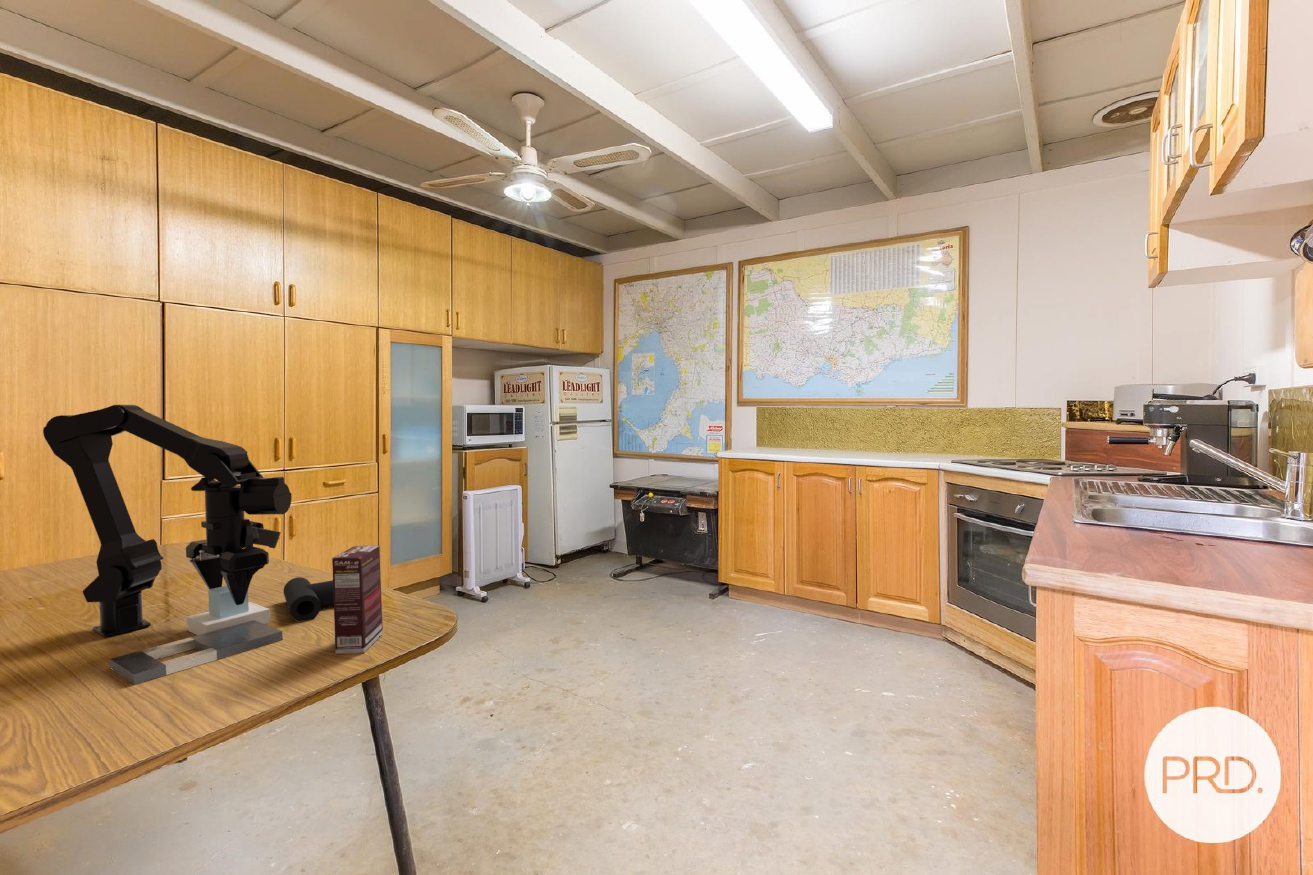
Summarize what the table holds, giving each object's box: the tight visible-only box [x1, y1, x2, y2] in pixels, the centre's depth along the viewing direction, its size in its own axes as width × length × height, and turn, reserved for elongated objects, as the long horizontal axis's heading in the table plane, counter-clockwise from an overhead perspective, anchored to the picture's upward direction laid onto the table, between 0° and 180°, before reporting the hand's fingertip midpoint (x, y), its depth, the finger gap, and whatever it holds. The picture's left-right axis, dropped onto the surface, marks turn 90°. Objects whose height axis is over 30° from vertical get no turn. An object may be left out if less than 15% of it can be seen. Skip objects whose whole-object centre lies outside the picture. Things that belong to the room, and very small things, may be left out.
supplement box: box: [331, 544, 384, 655], centre depth 100 cm, size 9×5×16 cm, turn 5°
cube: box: [208, 585, 249, 619], centre depth 109 cm, size 4×4×4 cm
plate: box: [109, 620, 284, 685], centre depth 97 cm, size 10×20×2 cm, turn 147°
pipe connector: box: [282, 576, 334, 622], centre depth 120 cm, size 12×5×15 cm
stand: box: [186, 601, 271, 636], centre depth 109 cm, size 8×10×2 cm
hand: (228, 600), depth 109 cm, fingers open, 9 cm apart
